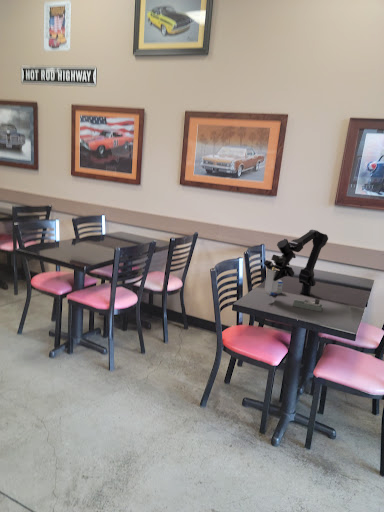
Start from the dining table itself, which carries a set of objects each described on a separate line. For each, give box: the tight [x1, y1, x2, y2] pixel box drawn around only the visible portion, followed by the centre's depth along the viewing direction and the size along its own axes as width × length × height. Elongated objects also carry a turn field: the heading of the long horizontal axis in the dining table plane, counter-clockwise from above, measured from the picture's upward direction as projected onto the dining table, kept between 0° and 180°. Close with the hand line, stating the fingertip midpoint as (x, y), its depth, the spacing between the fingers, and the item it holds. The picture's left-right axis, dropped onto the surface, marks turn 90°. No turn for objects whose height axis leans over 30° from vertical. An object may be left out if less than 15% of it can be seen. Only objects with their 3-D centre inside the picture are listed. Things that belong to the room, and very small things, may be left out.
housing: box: [263, 267, 280, 292], centre depth 211 cm, size 5×5×14 cm
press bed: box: [292, 299, 323, 312], centre depth 212 cm, size 17×25×3 cm
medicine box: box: [266, 279, 284, 296], centre depth 227 cm, size 8×4×9 cm, turn 105°
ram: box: [304, 298, 321, 307], centre depth 205 cm, size 4×8×5 cm, turn 70°
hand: (270, 279), depth 210 cm, fingers closed on housing, 5 cm apart
